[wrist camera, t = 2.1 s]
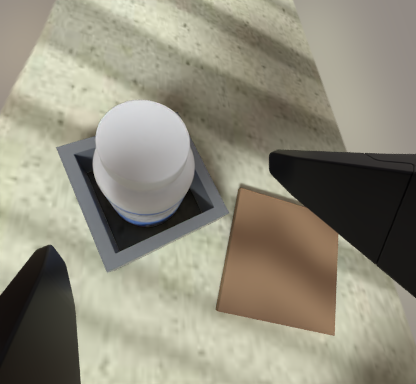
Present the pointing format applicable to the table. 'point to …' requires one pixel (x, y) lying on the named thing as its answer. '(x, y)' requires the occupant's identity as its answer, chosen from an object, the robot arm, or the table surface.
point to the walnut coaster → (280, 265)
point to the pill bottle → (143, 161)
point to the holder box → (111, 256)
